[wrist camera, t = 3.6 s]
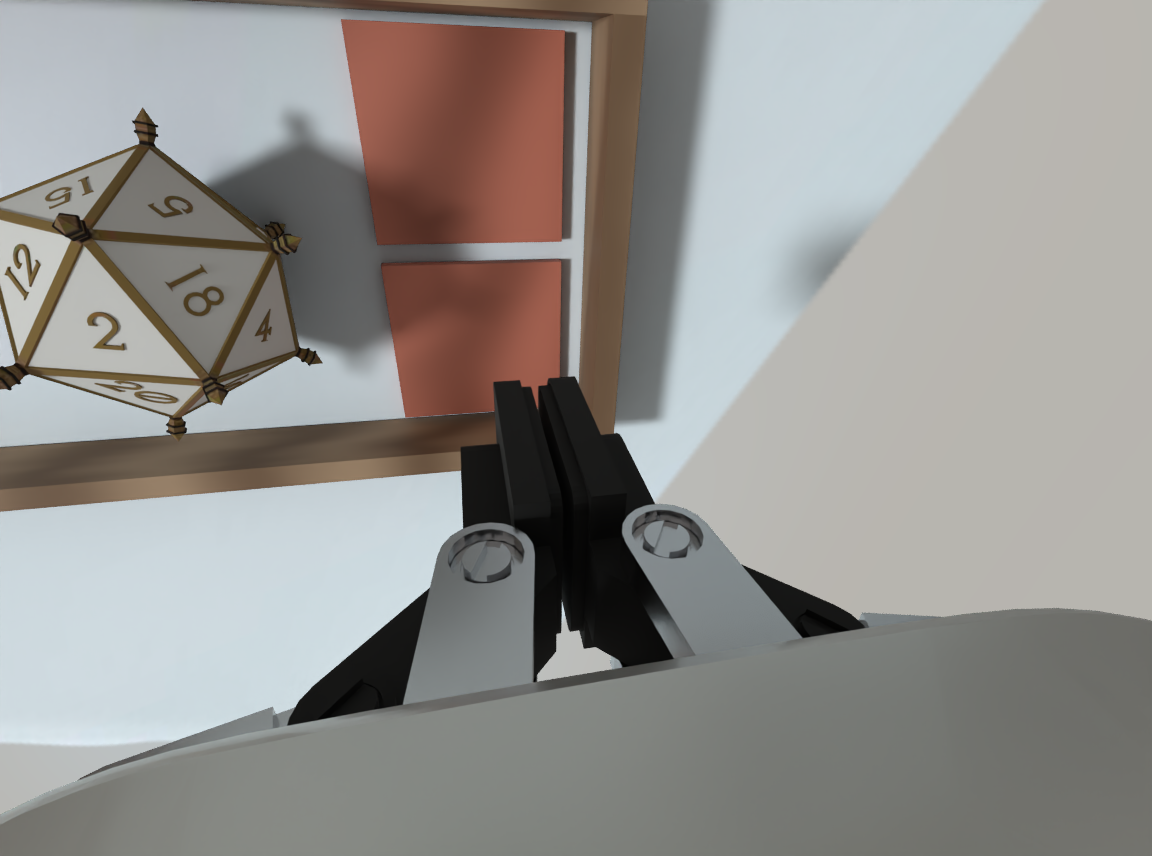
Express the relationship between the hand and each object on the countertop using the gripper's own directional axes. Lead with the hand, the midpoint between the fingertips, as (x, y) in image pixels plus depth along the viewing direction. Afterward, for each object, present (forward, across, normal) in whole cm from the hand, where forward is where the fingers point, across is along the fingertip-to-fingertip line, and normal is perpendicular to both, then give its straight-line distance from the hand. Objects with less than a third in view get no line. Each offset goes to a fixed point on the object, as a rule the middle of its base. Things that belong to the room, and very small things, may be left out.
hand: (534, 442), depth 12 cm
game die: (+13, +10, -1) cm, 17 cm away
